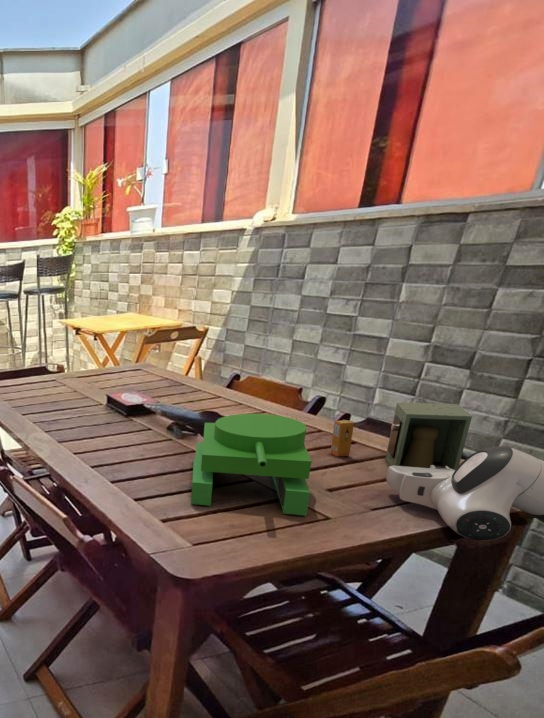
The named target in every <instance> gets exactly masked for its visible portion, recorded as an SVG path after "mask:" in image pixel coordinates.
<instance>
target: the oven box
mask: <svg viewBox="0 0 544 718" xmlns="http://www.w3.org/2000/svg"><path fill="white" fill-rule="evenodd" d="M472 419H473V415H471V414H470V413H469V412H468V411H466V410H465V409H464V408H463V407H462V406H461V405H459V404H458V403H434V402H433V403H430V402H429V403H428V402H396V407H395V411H394V415H393V421H392V424H391V426H390V434H389V439H388V444H387V448H386V453H385V459H386V461H387V463H388V465H389V466H393V465H395V466H401V461H403V460H404V458H405V456H406V453H407V451H408V448H409V446H410V444H411V441H412V439H413V437H412V435H411V431H412V429H413V428H414V427H415V426H417V425H430V426H434V427H436V428H438V429H439V436H438V438H437V439H435V444H434V463H440V464H441V466H448V467H449V468H450V469H453V470H456V469H457V467H458V466H459V465H460V464H461V460H462V456H463V452H464V448H465V445H466V441H467V437H468V433H469V429H470V426H471V422H472Z"/></svg>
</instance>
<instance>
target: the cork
mask: <svg viewBox="0 0 544 718" xmlns="http://www.w3.org/2000/svg"><path fill="white" fill-rule="evenodd" d="M411 435H412V437H413V439H412V441H411V444H410V446H409V448H408V451H407V453H406V456H405V458H404V460H402V463H401V466H407V467H420V468H430V465H435V462H434V444H435V439H437V438H438V436H439V429H438V428H436V427H434V426H430V425H417V426H415V427H414V428H413V429H412V431H411Z"/></svg>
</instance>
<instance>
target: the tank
mask: <svg viewBox="0 0 544 718" xmlns="http://www.w3.org/2000/svg"><path fill="white" fill-rule="evenodd" d="M203 427H204V428H203V440H202V441H203V442H202V441H198V442H196V445H195V446H196V447H195V454H194V460H193V464H192V480H191V481H192V482H191V493H190V496H191V497H190V505H200V506H208V507H209V506H210V507H211V506H212V495H213V482H214V481H213V479H214V473H221V474H234V475H235V474H236V475H247V476H249V475H250V476H262V477H271V478H272V480H273V483H274V487H275V490H276V494H277V497H278V501H279V503H280V506H281V509H282V514H284V515H286V514H287V515H295V516H304V517H306V516H308V509H309V502H310V495H311V491H310V488H309V486H308V483H307V480H309V479H310V473H311V466H312V459H311V457H310V455H309V452H308V449H307V447H306V445H305V440H306V435H307V434H306V433H307V425H306V424H305V423H304V422H302V421H300V420H297V419H295V418H291V417H288V416H284V415H283V416H282V415H276V414H269V413H266V414H265V413H237V414H231V415H226V416H222V417H219V418H217V420H216V421H214V422H204V426H203Z"/></svg>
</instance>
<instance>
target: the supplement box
mask: <svg viewBox="0 0 544 718" xmlns="http://www.w3.org/2000/svg"><path fill="white" fill-rule="evenodd" d="M354 426H355V423H354V422H353V421H350V420H348V419H343V420H334V423H333V431H332V438H331V447H330V454H331V455H333V456H334V457H336V458H337V457H349V456H350V452H351V445H352V439H353V433H354Z"/></svg>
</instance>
